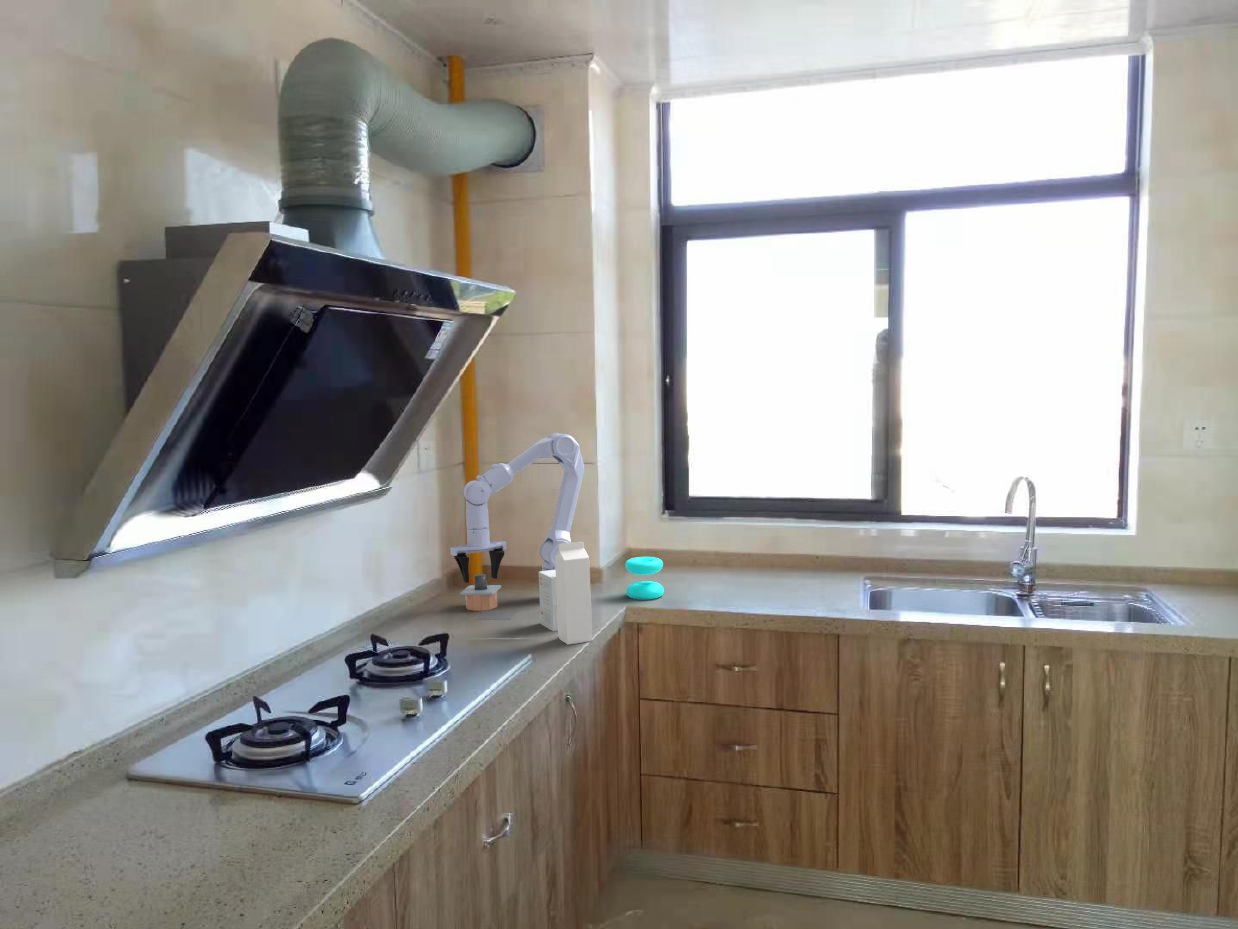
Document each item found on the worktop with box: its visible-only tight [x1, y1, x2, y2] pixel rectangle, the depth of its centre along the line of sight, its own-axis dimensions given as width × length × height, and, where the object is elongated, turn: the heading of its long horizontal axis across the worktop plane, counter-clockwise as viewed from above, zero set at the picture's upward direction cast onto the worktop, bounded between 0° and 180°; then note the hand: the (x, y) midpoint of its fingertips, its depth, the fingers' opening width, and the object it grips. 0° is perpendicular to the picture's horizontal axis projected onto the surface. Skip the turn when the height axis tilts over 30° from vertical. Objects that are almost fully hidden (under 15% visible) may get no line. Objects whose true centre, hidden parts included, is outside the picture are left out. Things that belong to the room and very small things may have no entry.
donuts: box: [624, 556, 665, 601], centre depth 251 cm, size 10×10×10 cm
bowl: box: [464, 591, 498, 612], centre depth 245 cm, size 8×8×4 cm
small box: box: [538, 570, 558, 632], centre depth 223 cm, size 8×6×13 cm
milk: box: [555, 541, 593, 645], centre depth 211 cm, size 6×6×22 cm
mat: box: [474, 610, 520, 621], centre depth 235 cm, size 9×9×1 cm
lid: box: [459, 573, 502, 596], centre depth 244 cm, size 8×8×4 cm
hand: (480, 580), depth 244 cm, fingers open, 7 cm apart
